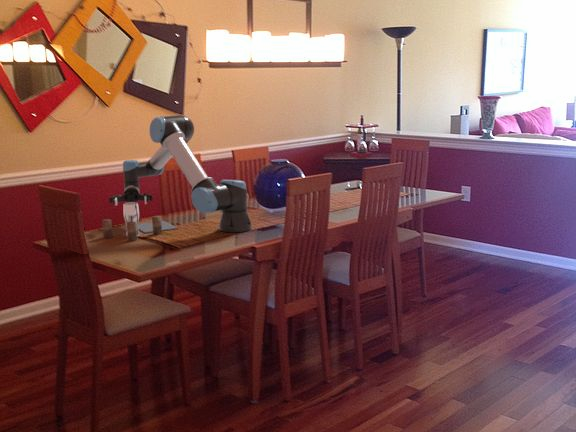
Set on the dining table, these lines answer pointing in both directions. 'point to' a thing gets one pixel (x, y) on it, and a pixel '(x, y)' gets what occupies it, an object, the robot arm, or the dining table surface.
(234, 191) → the robot arm
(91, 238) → the dining table surface
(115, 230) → the dining table surface
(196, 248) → the dining table surface
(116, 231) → the dining table surface
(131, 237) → the walnut spacer posts
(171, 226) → the slate mat
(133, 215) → the beer glass
